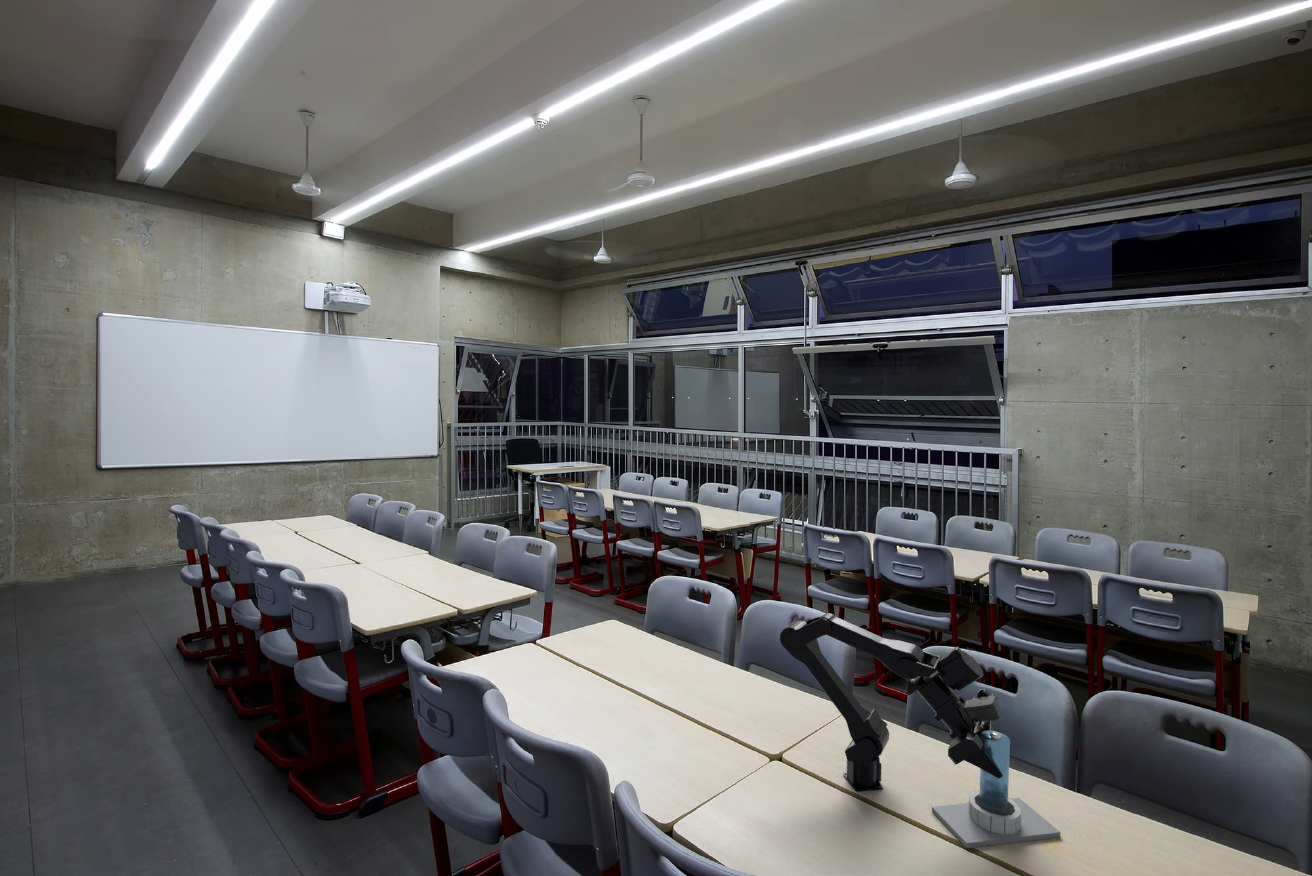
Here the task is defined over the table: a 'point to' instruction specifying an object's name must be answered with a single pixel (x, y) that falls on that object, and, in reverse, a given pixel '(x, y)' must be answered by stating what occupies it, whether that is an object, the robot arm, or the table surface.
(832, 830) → the table surface
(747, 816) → the table surface
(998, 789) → the cylinder
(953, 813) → the socket plate
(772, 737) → the table surface
